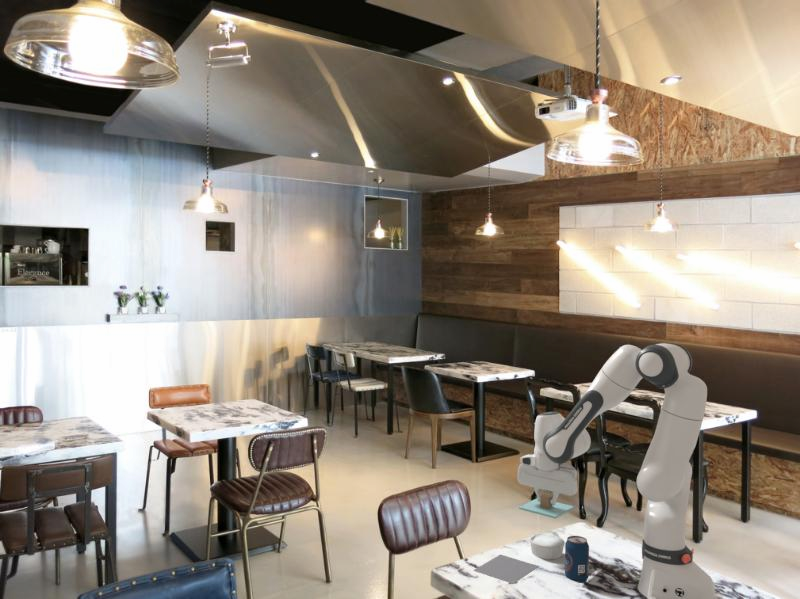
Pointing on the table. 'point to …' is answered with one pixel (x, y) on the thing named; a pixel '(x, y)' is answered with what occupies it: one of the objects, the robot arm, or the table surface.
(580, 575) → the soda can
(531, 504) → the cover sheet
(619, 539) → the table surface
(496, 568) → the mat
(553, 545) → the ramekin
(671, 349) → the robot arm
